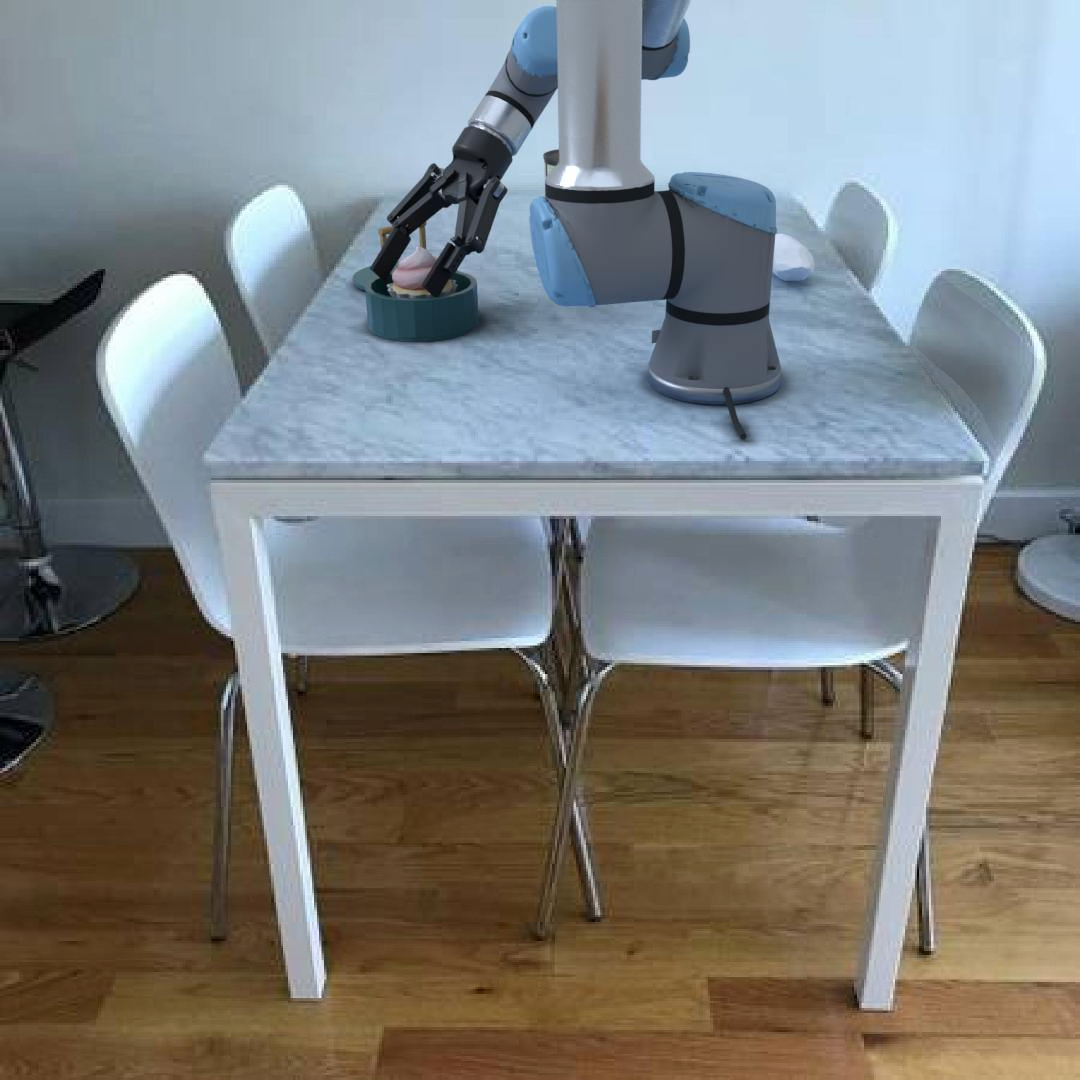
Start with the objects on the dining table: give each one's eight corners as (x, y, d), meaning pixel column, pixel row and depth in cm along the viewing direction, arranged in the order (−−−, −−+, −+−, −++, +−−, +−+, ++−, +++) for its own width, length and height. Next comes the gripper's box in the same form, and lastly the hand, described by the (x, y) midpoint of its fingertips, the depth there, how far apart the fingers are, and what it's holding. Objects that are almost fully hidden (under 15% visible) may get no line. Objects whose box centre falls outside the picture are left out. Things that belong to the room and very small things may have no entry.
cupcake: (419, 306, 170) (415, 233, 165) (473, 316, 165) (469, 242, 160) (374, 324, 163) (367, 248, 158) (428, 335, 158) (423, 258, 153)
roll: (781, 293, 174) (784, 253, 171) (757, 270, 185) (760, 232, 182) (822, 291, 175) (826, 251, 172) (796, 268, 185) (799, 231, 183)
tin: (500, 323, 164) (499, 283, 161) (413, 349, 155) (410, 307, 152) (432, 301, 173) (430, 262, 171) (346, 324, 165) (343, 284, 162)
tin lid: (480, 282, 181) (478, 223, 177) (395, 305, 172) (391, 242, 168) (415, 262, 191) (412, 206, 187) (332, 283, 182) (326, 223, 178)
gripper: (565, 171, 157) (476, 317, 155) (451, 148, 172) (369, 281, 170) (533, 133, 151) (441, 284, 149) (419, 113, 166) (333, 250, 164)
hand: (402, 283), depth 159 cm, fingers open, 10 cm apart
